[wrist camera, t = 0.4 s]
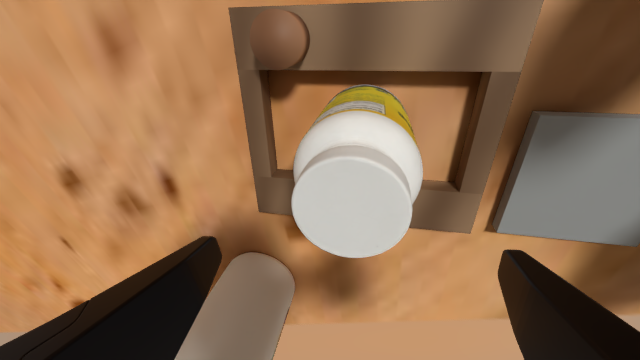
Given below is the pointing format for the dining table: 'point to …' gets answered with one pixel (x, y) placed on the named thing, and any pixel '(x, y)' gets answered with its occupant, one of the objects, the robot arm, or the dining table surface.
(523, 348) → the robot arm
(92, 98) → the dining table surface
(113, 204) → the dining table surface
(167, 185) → the dining table surface
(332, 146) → the pill bottle
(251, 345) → the milk bottle
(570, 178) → the grey pad
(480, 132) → the wooden frame
